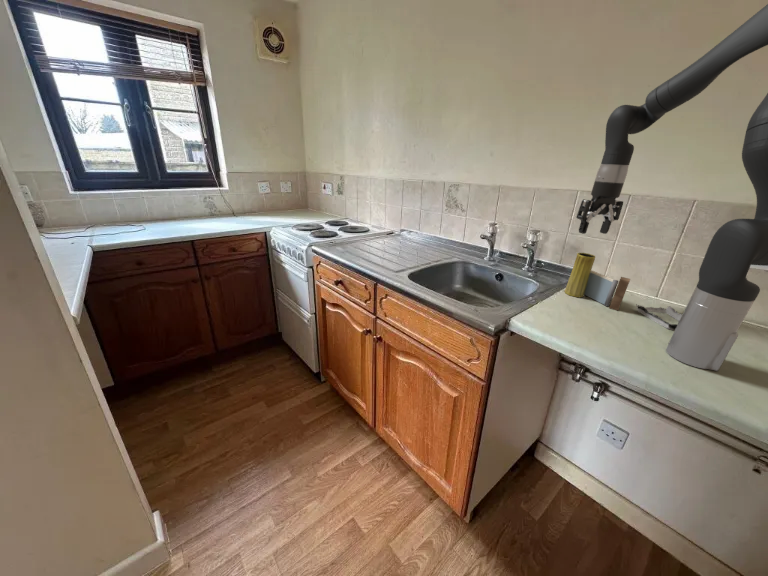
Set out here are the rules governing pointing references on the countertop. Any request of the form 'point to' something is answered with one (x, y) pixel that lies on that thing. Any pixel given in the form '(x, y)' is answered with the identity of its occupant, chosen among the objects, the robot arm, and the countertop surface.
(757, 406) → the countertop surface
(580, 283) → the vase
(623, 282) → the gate post
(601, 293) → the grey flat panel
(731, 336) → the robot arm
